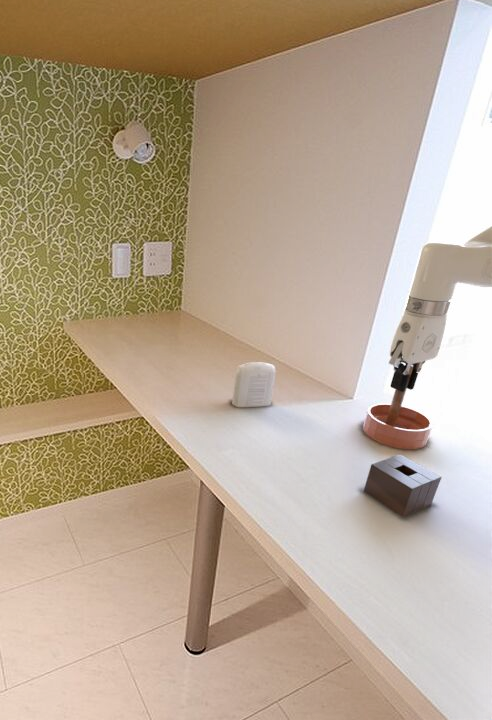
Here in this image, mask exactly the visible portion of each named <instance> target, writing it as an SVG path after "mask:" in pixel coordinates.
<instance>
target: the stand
mask: <svg viewBox="0 0 492 720" xmlns="http://www.w3.org/2000/svg"><path fill="white" fill-rule="evenodd" d="M441 481H442V476H441V475H439V474H437V473H435V472H434V471H432V470H430V469H428V468H427V467H425V466H423V465H421V464H420V463H417V462H415V461H414V460H412V459H410V458H408V457H406V456H405V455H403V454H401V453H399V454H396V455H393V456H391V457H388V458H385V459H382V460H380V461H377V462H374V463H371V465H370V468H369V472H368V475H367V477H366V481H365V485H364V488H363V492H364V493H365V494H367V495H369V496H370V497H371V498H373V499H374V500H376V501H377V502H378V503H381V504H382V505H383V506H385V507H387V508H388V509H389V510H391V511H392V512H394V513H395V514H397V515H398V516H399V517H401V518H405V517H407V516H410V515H411V514H413V513H415V512H417V511H420V510H423V509H425V508H426V507H427V508H428V507H429V506H432V504H433V501H434V499H435V496H436V494H437V490H438V488H439V485H440V483H441Z"/></svg>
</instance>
